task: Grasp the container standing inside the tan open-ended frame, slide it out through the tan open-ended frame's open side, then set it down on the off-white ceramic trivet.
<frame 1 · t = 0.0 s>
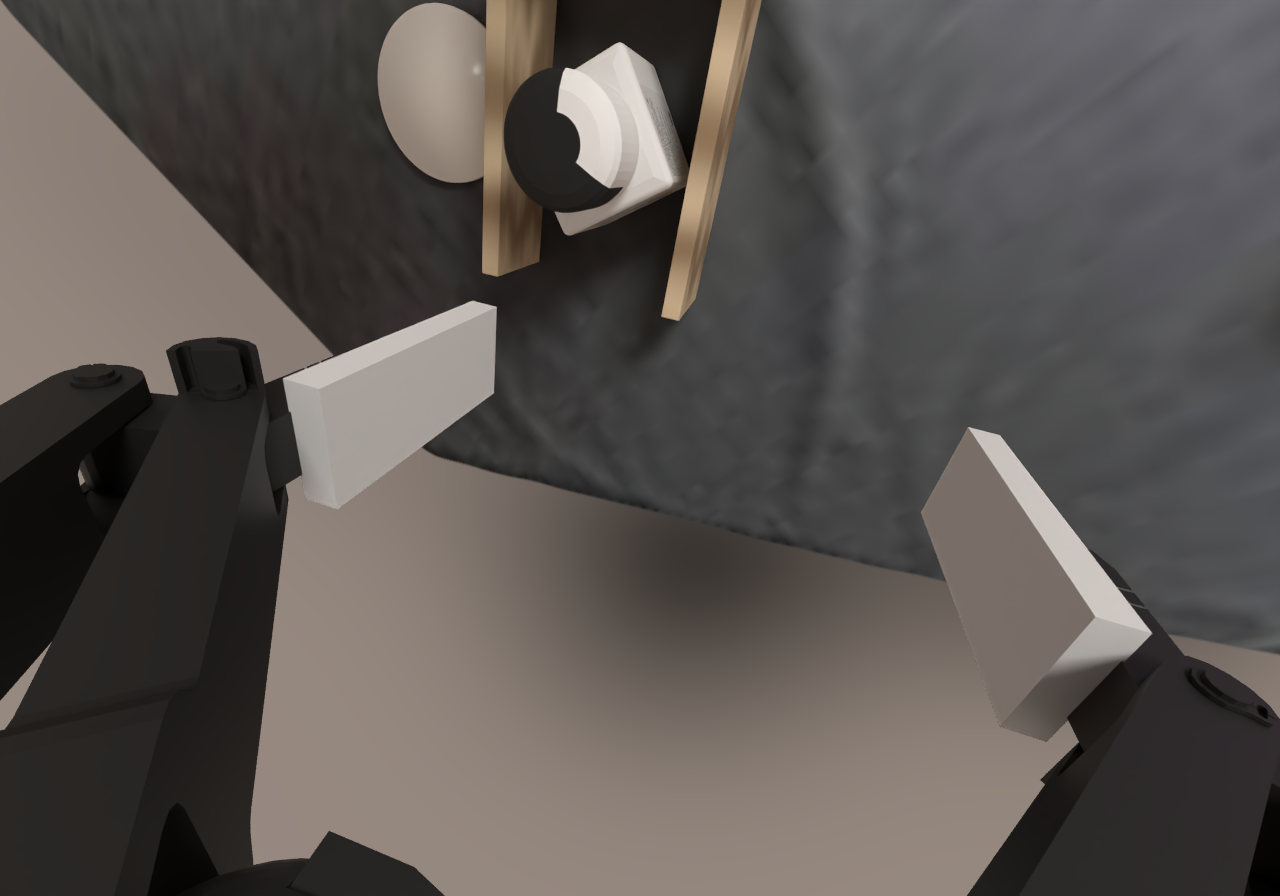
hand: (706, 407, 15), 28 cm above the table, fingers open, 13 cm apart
trivet: (448, 99, 39), on the table
container: (626, 151, 38), resting in tan open-ended frame
tan open-ended frame: (627, 134, 37), on the table
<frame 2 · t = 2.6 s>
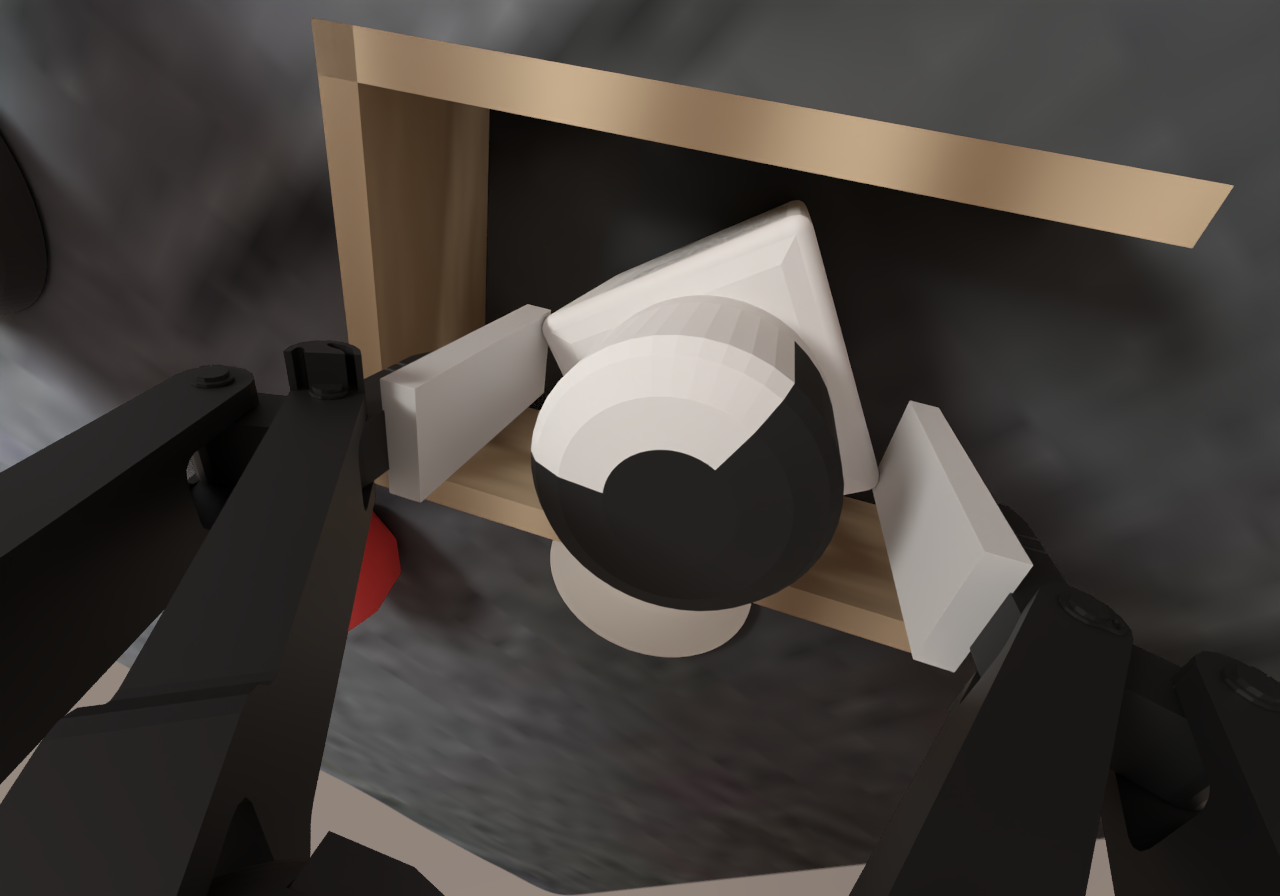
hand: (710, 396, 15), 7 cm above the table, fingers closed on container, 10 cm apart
apple: (366, 531, 33), on the table
trivet: (649, 574, 28), on the table
container: (734, 332, 22), resting in tan open-ended frame, touching gripper
tan open-ended frame: (710, 325, 21), on the table
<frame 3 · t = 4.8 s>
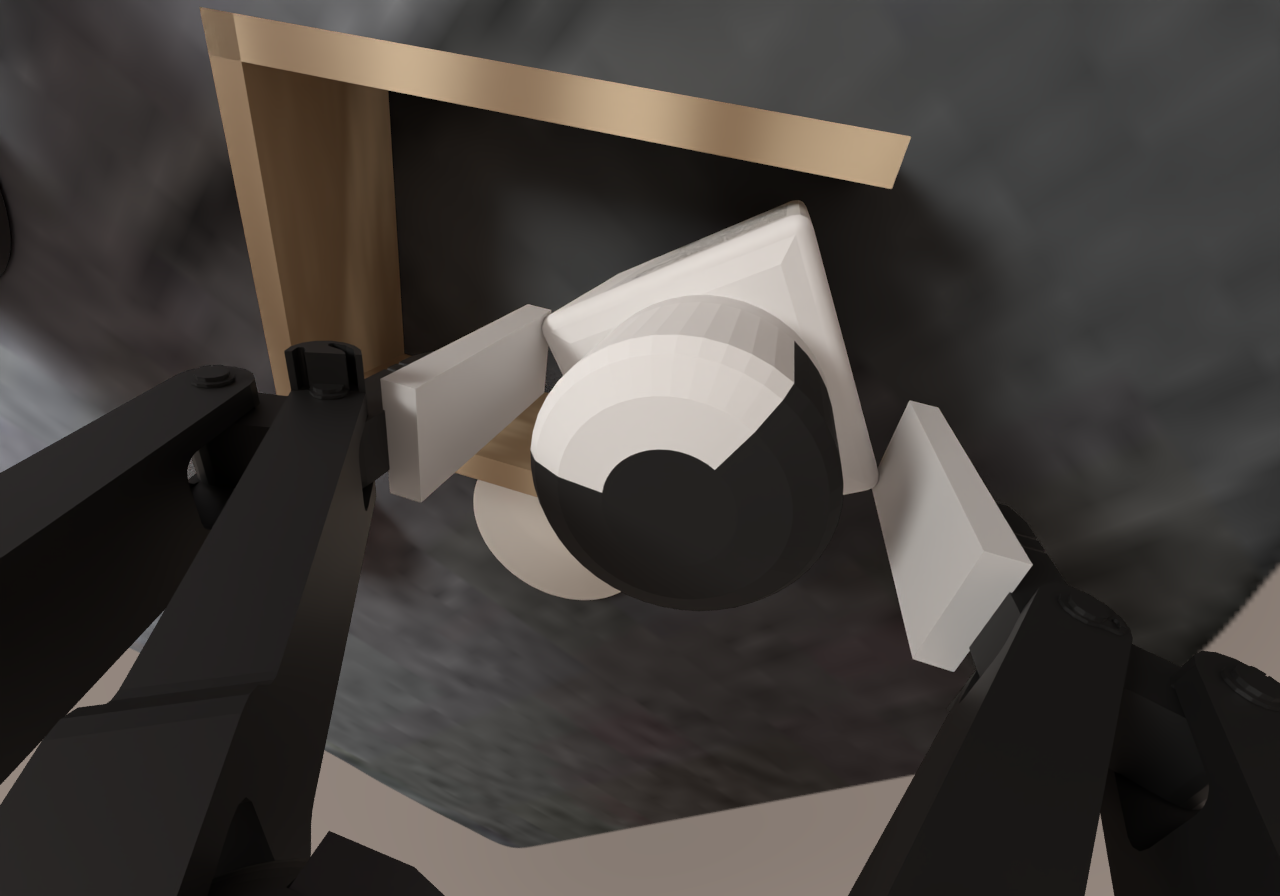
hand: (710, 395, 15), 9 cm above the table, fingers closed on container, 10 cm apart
trivet: (563, 521, 31), on the table
container: (733, 331, 22), point 2 cm above the table, touching gripper
tan open-ended frame: (591, 283, 24), on the table
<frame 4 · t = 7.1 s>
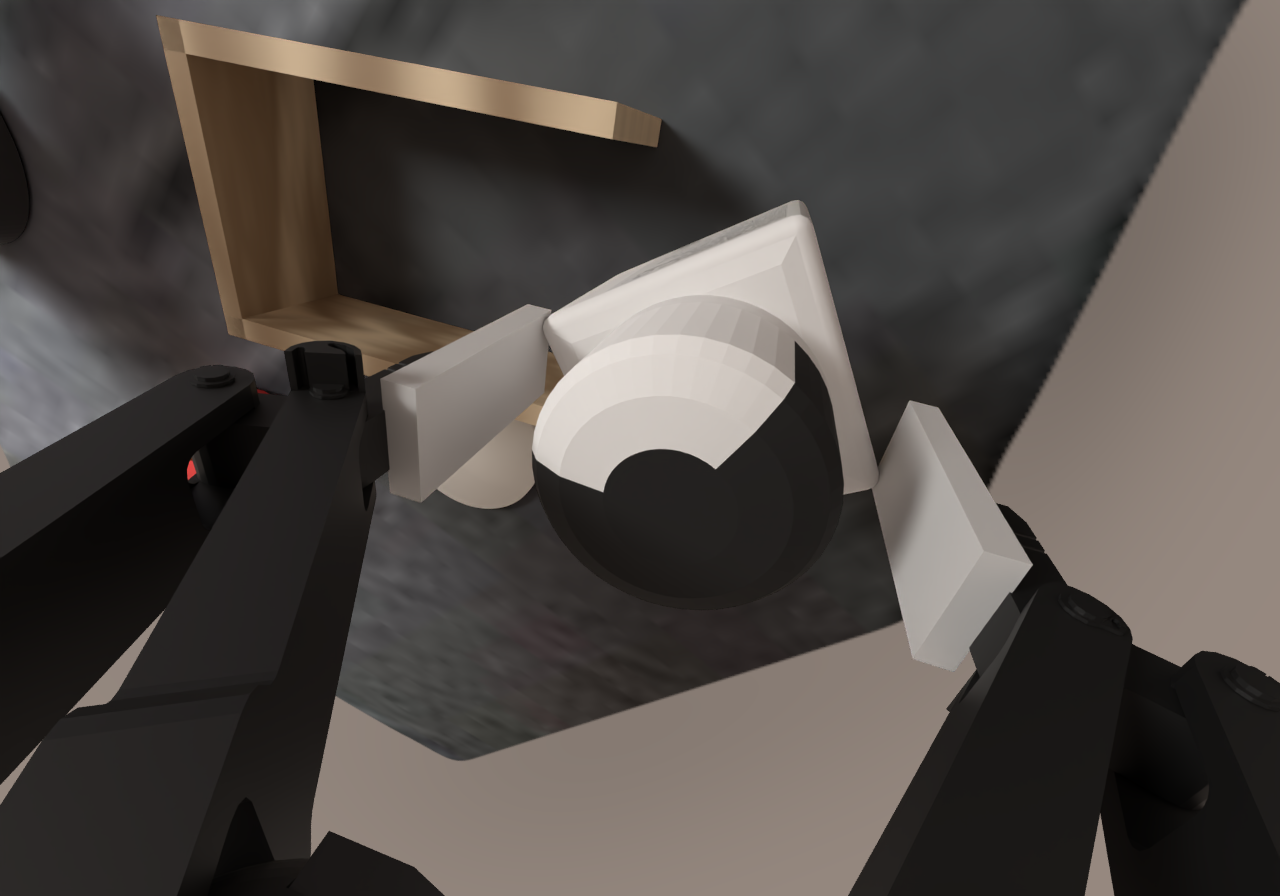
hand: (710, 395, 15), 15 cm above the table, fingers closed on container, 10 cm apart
trivet: (471, 438, 38), on the table
container: (734, 331, 22), point 7 cm above the table, touching gripper
tan open-ended frame: (473, 231, 31), on the table
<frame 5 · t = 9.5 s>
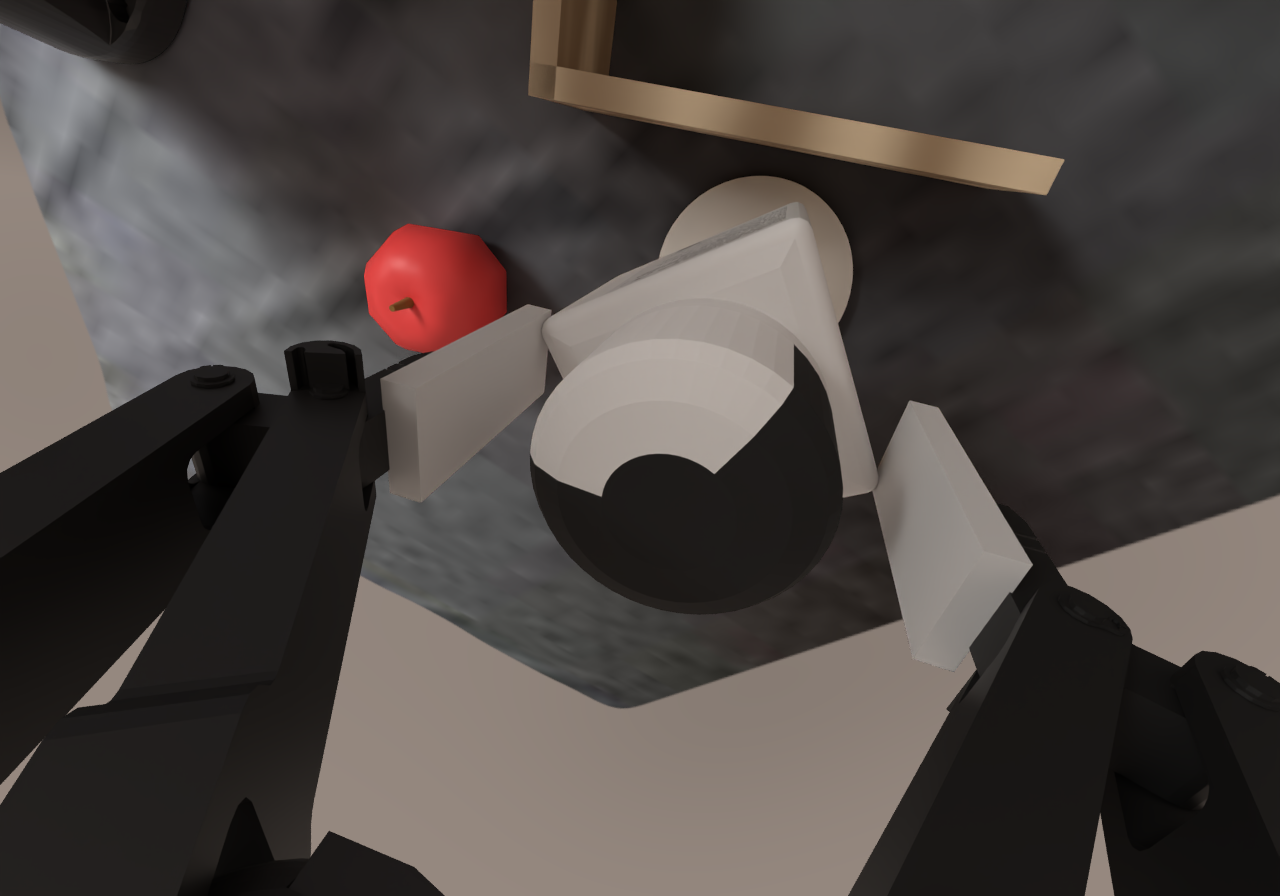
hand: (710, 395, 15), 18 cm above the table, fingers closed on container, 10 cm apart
apple: (471, 280, 35), on the table
trivet: (750, 281, 31), on the table
container: (733, 333, 22), point 11 cm above the table, touching gripper
when the fingers open (9 cm above the table, at t = 11.6 s): container drops 1 cm, resting on trivet.
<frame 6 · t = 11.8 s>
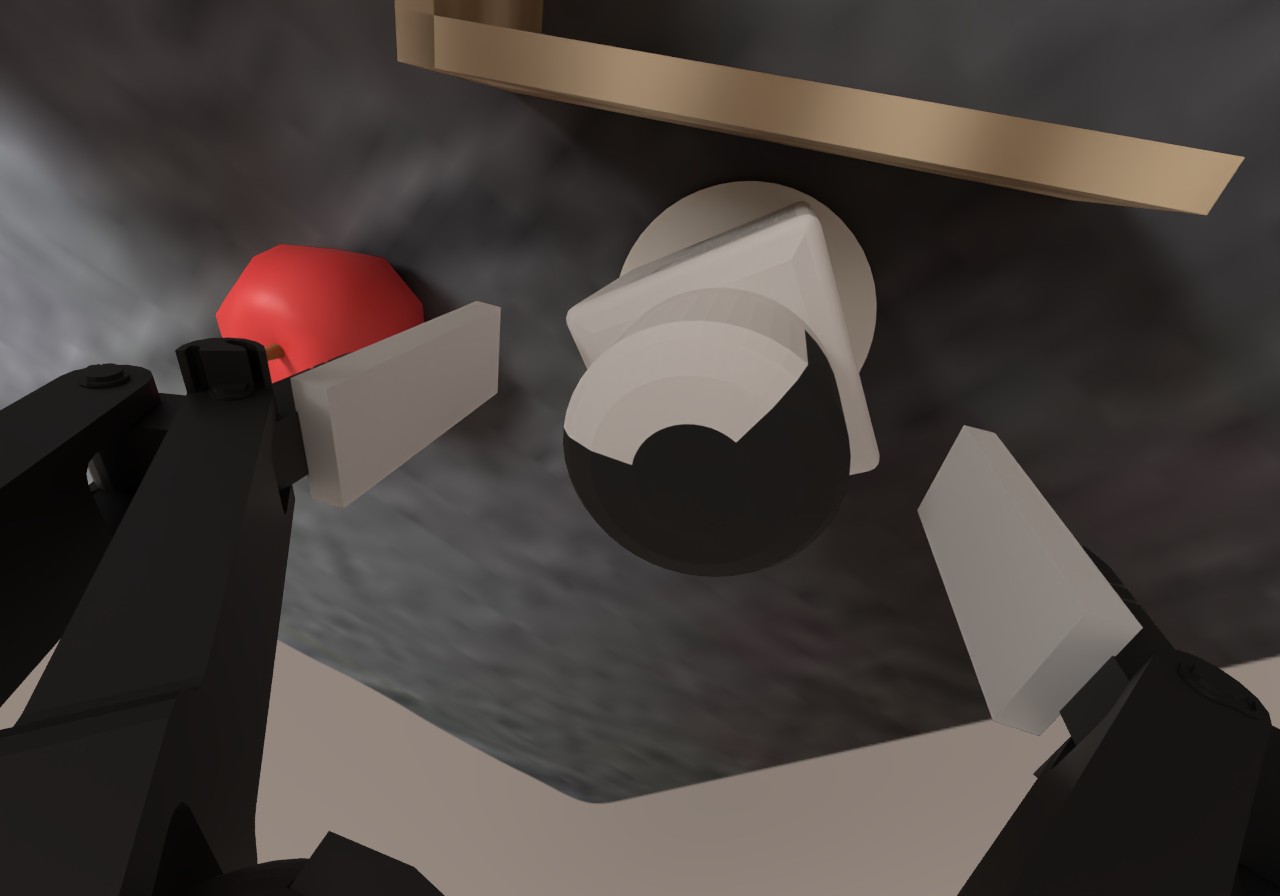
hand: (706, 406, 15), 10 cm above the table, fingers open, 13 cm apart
apple: (384, 312, 28), on the table
trivet: (738, 321, 23), on the table
container: (740, 326, 23), resting on trivet
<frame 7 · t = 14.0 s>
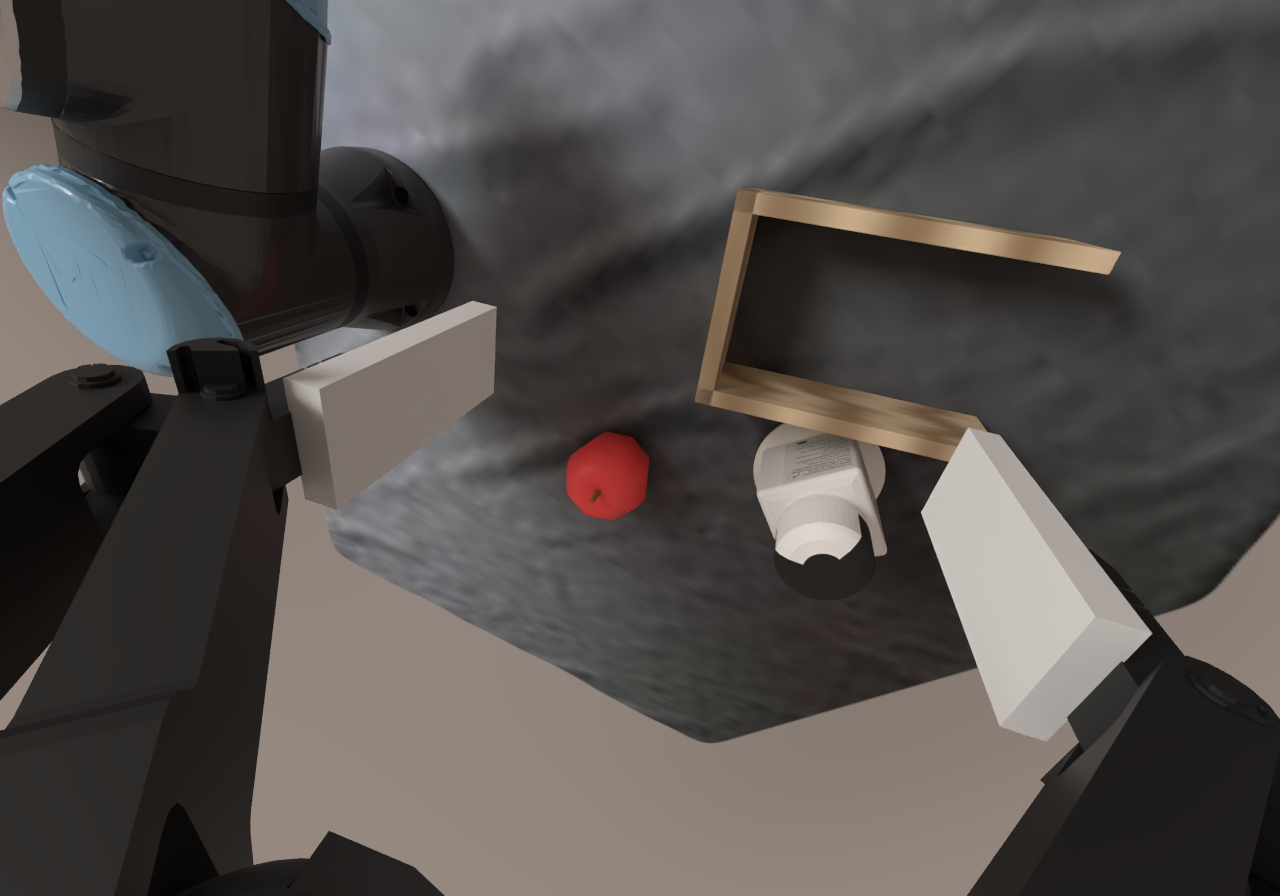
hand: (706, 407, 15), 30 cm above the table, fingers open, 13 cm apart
apple: (620, 457, 52), on the table
trivet: (816, 470, 47), on the table
container: (818, 473, 46), resting on trivet
tan open-ended frame: (871, 315, 40), on the table
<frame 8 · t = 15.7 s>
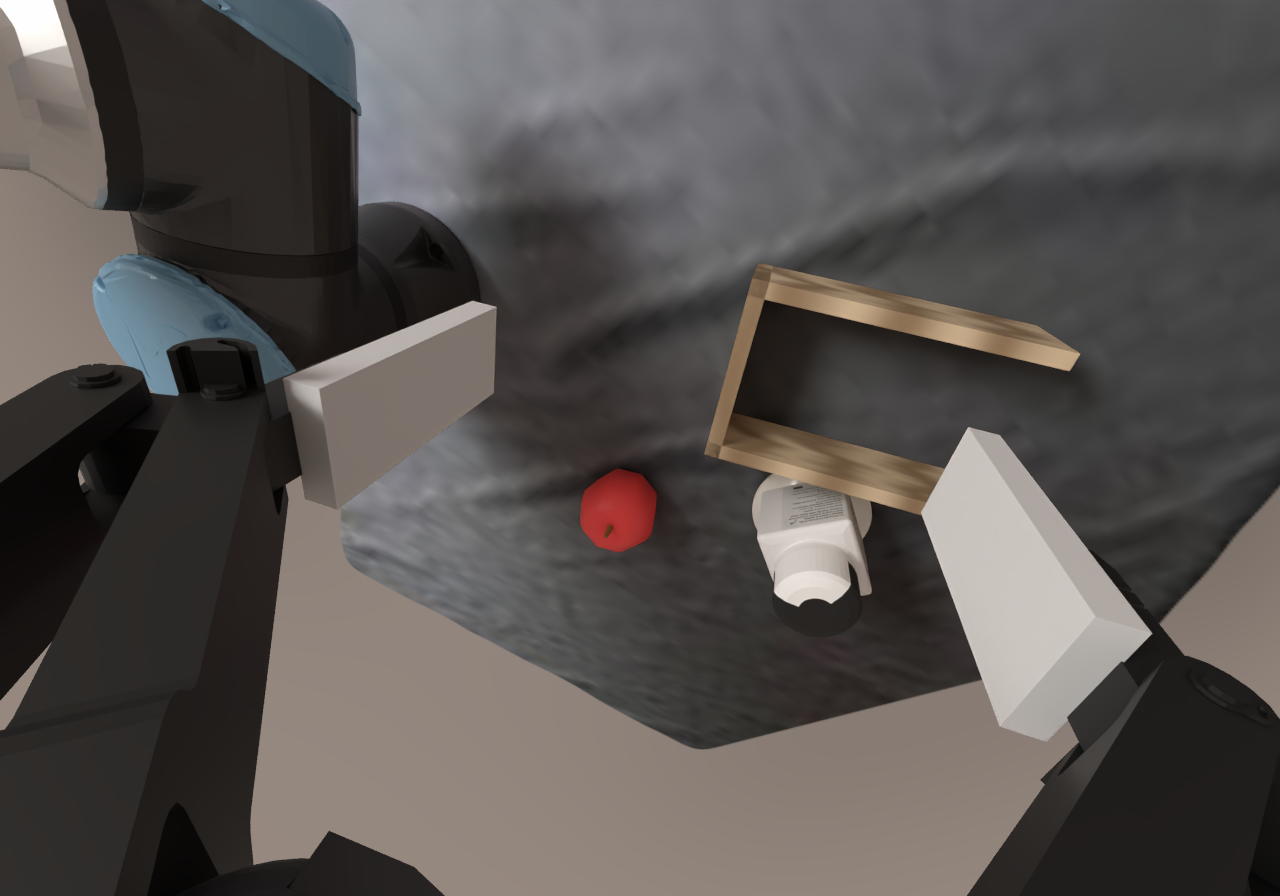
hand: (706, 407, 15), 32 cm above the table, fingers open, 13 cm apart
apple: (629, 490, 56), on the table
trivet: (810, 510, 51), on the table
container: (811, 514, 51), resting on trivet
tan open-ended frame: (864, 379, 44), on the table
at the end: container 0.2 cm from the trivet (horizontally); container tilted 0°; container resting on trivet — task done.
